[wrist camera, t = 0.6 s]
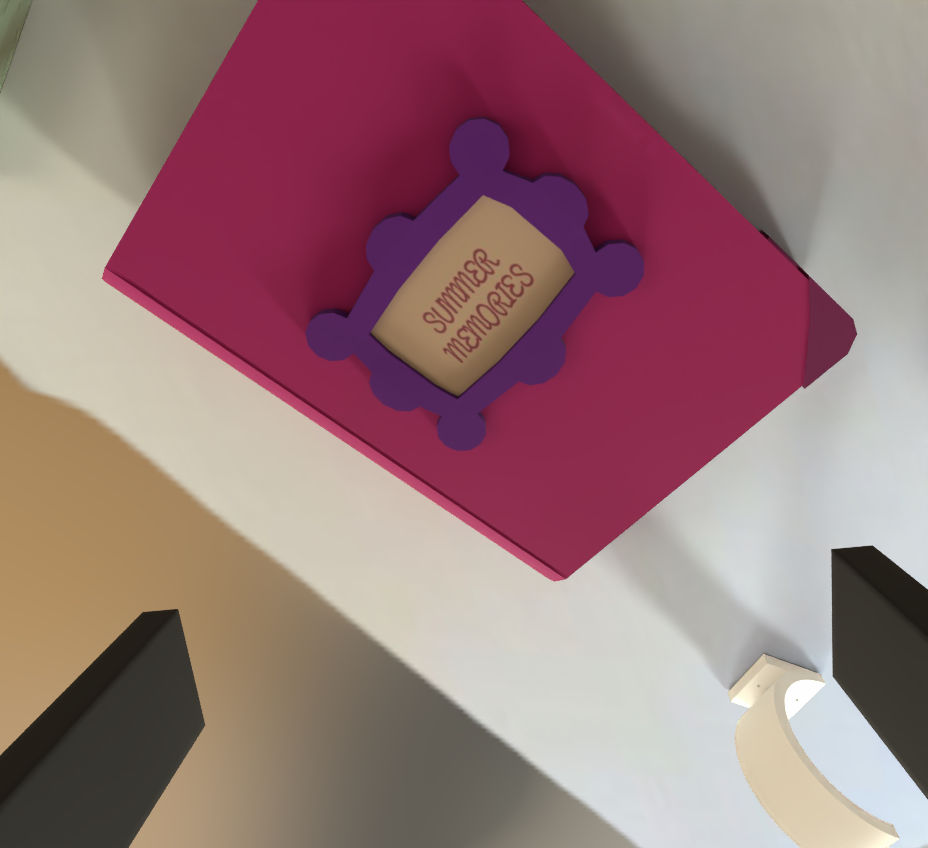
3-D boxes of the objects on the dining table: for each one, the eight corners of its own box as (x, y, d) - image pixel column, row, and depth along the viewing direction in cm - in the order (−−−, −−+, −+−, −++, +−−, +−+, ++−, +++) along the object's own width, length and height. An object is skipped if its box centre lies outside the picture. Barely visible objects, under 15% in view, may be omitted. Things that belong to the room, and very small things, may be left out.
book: (541, 519, 47) (549, 605, 40) (149, 245, 38) (78, 296, 32) (812, 279, 38) (878, 339, 32) (381, -142, 30) (349, -181, 23)
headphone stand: (783, 711, 55) (849, 876, 45) (715, 687, 54) (766, 851, 44) (821, 674, 53) (899, 838, 43) (751, 649, 52) (814, 810, 42)
